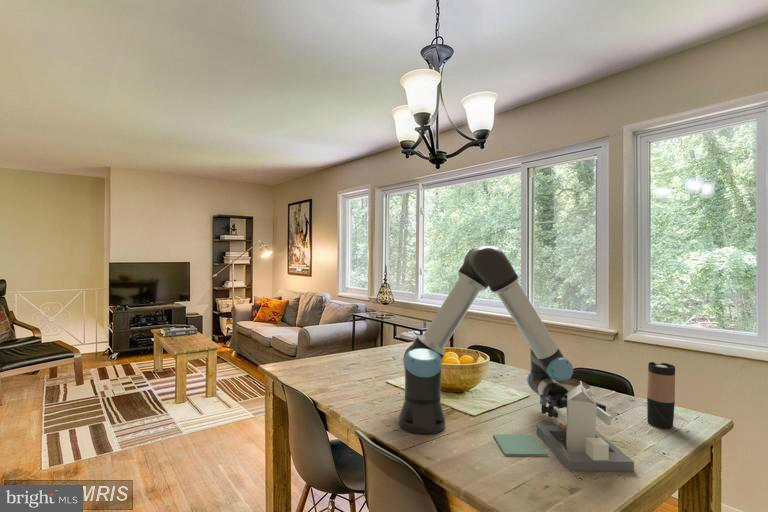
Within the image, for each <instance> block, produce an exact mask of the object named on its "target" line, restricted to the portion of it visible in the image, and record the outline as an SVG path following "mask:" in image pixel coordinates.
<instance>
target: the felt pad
mask: <svg viewBox="0 0 768 512" xmlns="http://www.w3.org/2000/svg"><path fill="white" fill-rule="evenodd" d="M492 437H493V439H494V440H495V442H496V443H497V444H498V445H497V446H498V447H499V449H500V450H501V452H502V453H503V455H504V456H505V457H509V456H510V457H512V456H513V457H549V453H548V452H547V450H546V449H544V447H543V446H542V445H541V444H540V443H539V441H538V440H537V439H536V438H535V437H534V436H533V434H513V433H512V434H510V433H508V434H506V433H505V434H504V433H503V434H500V433H499V434H497V433H496V434H495V433H493V434H492Z"/></svg>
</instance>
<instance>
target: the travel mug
mask: <svg viewBox="0 0 768 512" xmlns="http://www.w3.org/2000/svg"><path fill="white" fill-rule="evenodd" d="M647 366H648V367H647V389H646V390H647V393H646V402H647V403H646V404H647V405H646V410H647V411H646V412H647V413H646V416H647V423H648V425H650V426H652V427H655V428H659V429H664V430H670V429H673V428H674V420H675V419H674V416H675V404H676V399H675V398H676V366H675V365H673V364H670V363H666V362H661V363H655V361H651V362H648V364H647Z"/></svg>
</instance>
